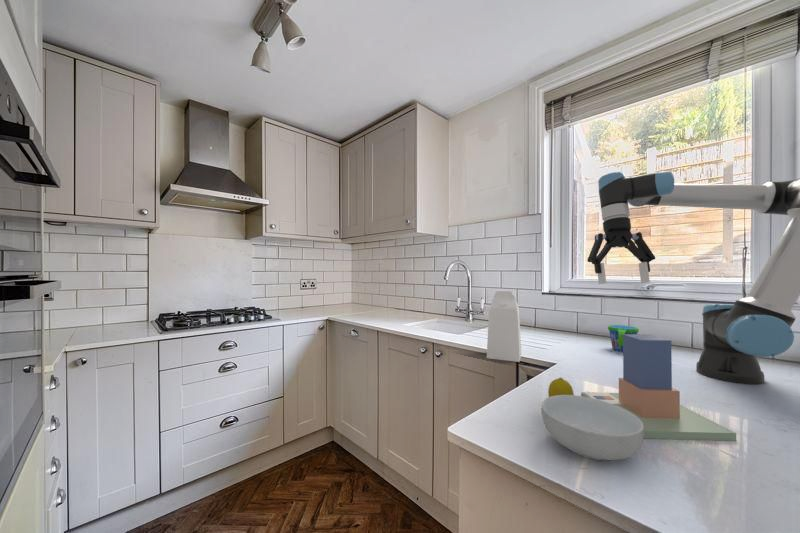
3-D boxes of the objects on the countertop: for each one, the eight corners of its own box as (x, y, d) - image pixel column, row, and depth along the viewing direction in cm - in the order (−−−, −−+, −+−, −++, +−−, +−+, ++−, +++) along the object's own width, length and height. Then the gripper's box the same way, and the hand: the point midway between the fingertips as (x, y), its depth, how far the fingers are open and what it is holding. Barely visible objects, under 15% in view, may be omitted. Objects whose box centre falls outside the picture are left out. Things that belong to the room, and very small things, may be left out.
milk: (521, 354, 127) (521, 290, 127) (519, 361, 116) (519, 292, 116) (490, 351, 132) (490, 289, 132) (486, 358, 121) (486, 291, 121)
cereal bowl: (603, 488, 49) (603, 443, 49) (523, 436, 64) (523, 402, 64) (665, 461, 56) (665, 422, 56) (579, 420, 71) (579, 389, 71)
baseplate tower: (658, 399, 82) (658, 370, 83) (736, 440, 63) (735, 403, 63) (581, 397, 83) (581, 369, 84) (633, 438, 63) (633, 401, 64)
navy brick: (650, 379, 76) (650, 334, 76) (671, 389, 70) (671, 340, 70) (623, 379, 76) (623, 334, 77) (642, 389, 70) (641, 340, 70)
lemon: (543, 408, 77) (543, 375, 77) (559, 404, 80) (559, 372, 80) (562, 417, 72) (562, 383, 72) (579, 413, 74) (579, 379, 75)
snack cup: (612, 345, 142) (612, 323, 142) (641, 349, 134) (641, 326, 134) (603, 351, 131) (603, 327, 131) (634, 356, 123) (634, 331, 123)
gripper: (645, 221, 107) (654, 283, 104) (572, 223, 107) (578, 284, 104) (663, 214, 99) (673, 281, 96) (584, 217, 100) (591, 282, 97)
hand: (623, 283), depth 100 cm, fingers open, 13 cm apart
